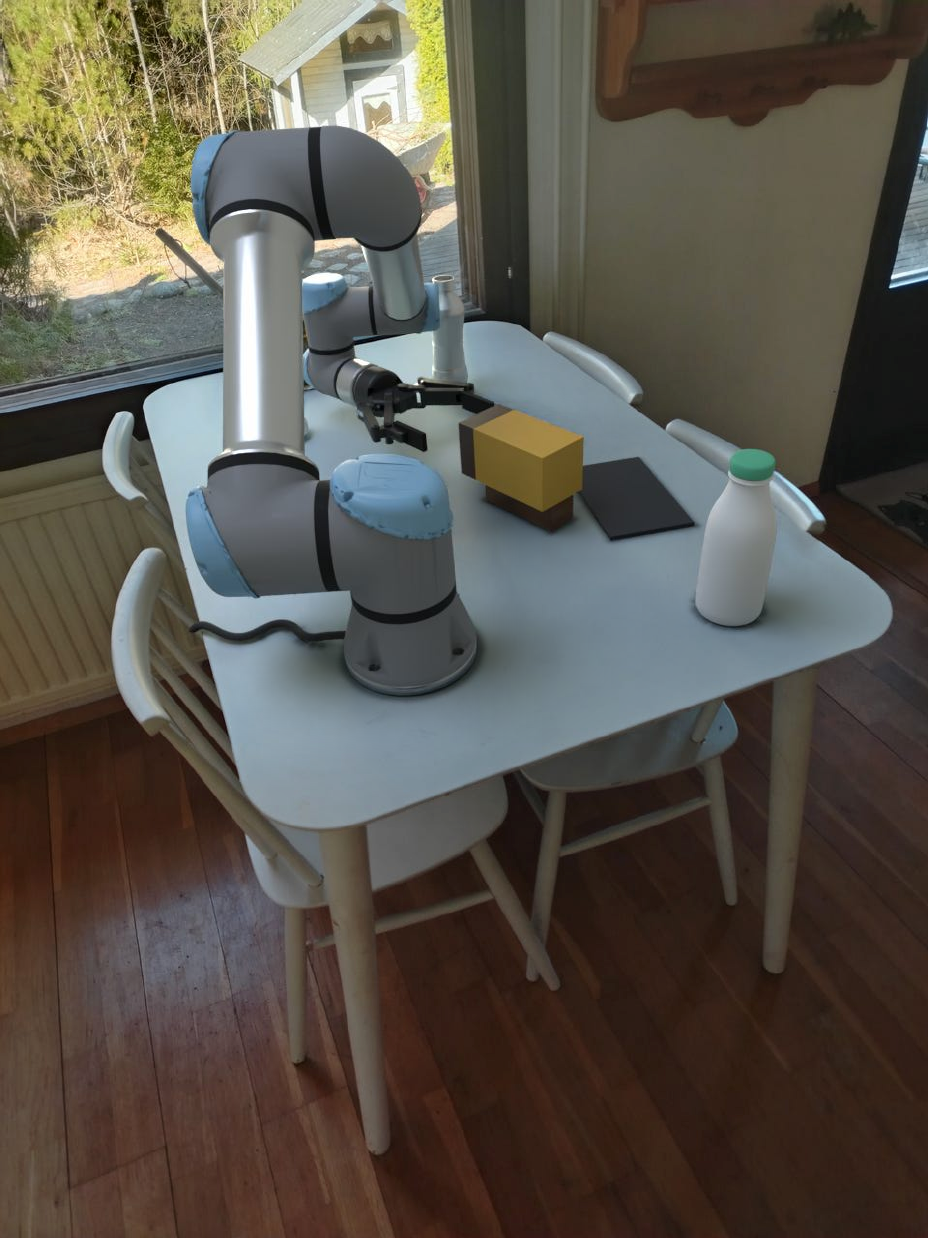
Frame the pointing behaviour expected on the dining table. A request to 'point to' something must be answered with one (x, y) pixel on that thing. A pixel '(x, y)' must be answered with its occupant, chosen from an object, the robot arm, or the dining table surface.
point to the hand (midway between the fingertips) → (460, 426)
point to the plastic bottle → (449, 334)
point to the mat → (630, 499)
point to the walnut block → (534, 510)
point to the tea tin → (521, 456)
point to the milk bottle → (739, 543)
